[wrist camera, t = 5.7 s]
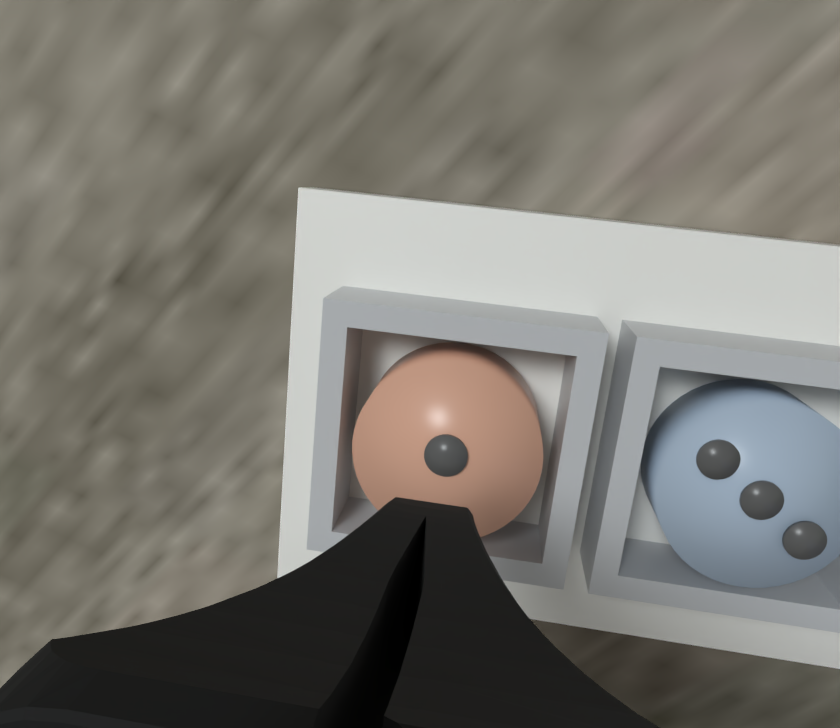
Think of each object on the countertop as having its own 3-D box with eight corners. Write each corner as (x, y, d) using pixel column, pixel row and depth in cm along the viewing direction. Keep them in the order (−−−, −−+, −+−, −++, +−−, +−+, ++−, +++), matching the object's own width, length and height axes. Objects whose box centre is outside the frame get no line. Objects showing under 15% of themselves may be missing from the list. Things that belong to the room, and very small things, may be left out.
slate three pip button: (801, 556, 17) (840, 604, 15) (626, 530, 18) (641, 573, 16) (847, 391, 16) (896, 420, 14) (658, 367, 17) (679, 392, 15)
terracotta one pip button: (525, 515, 18) (528, 556, 16) (361, 491, 18) (344, 528, 16) (551, 354, 17) (557, 376, 15) (375, 331, 17) (358, 350, 15)
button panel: (1089, 676, 19) (1211, 780, 16) (292, 551, 21) (253, 620, 18) (1252, 289, 16) (1445, 316, 13) (314, 187, 18) (272, 187, 15)
